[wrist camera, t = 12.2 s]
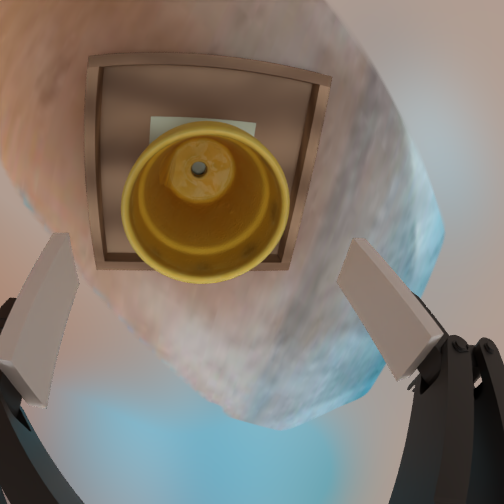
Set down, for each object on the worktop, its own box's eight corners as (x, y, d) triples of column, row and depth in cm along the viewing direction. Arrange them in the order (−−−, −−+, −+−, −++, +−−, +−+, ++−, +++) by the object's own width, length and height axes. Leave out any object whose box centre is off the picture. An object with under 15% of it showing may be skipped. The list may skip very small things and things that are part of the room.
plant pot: (117, 171, 23) (86, 221, 15) (202, 85, 21) (213, 87, 13) (198, 239, 29) (206, 308, 21) (279, 168, 26) (322, 215, 19)
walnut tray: (97, 57, 18) (88, 56, 16) (320, 76, 23) (332, 76, 21) (101, 256, 28) (96, 269, 26) (281, 257, 33) (288, 270, 31)
